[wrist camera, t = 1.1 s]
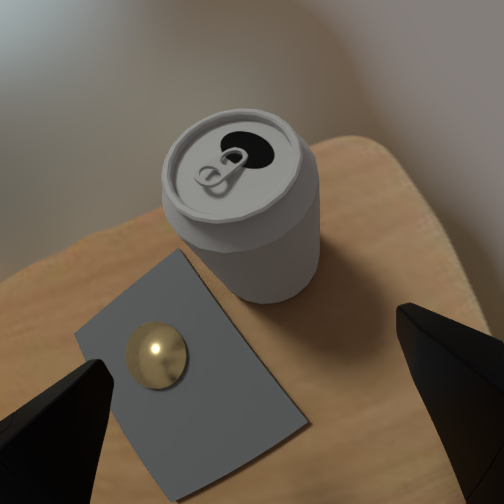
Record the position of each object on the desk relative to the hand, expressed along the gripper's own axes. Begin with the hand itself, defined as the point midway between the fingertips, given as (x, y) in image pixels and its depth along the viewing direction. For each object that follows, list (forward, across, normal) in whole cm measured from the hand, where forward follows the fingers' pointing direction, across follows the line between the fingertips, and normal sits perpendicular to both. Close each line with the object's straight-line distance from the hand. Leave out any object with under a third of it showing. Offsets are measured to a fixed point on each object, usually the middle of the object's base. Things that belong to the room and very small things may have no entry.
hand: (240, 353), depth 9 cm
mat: (+10, +8, +9) cm, 16 cm away
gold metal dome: (+11, +9, +7) cm, 16 cm away
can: (+15, 0, +4) cm, 16 cm away
